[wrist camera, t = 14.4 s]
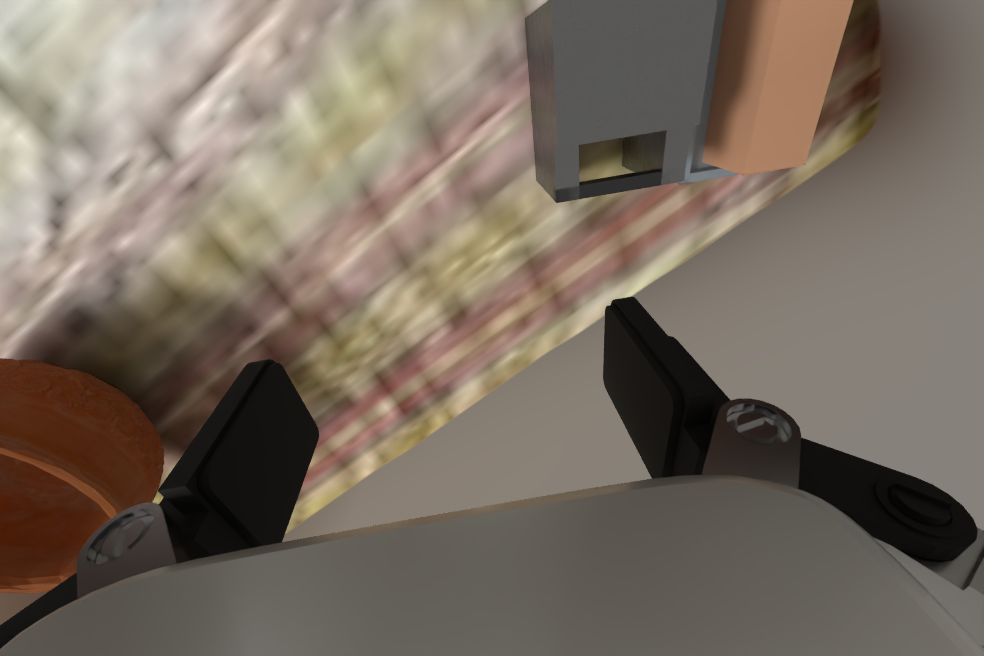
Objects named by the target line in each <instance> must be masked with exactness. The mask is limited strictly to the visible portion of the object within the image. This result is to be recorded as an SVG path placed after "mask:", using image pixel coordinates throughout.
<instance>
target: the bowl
mask: <svg viewBox="0 0 984 656" xmlns="http://www.w3.org/2000/svg"><path fill="white" fill-rule="evenodd" d="M161 445H162V444H161V438H160V435H159V434H158V433H157V431H156V429H155V427H154V426H153V424H152V422H151V421H150V420H149V419H148V417H147V416H146V415H145V414H144V412H143V411H142V410H141V409H140V406H139V404H136V403H135V402H133V401H132V400H131V399H130V398H129V397H127V396H126V395H125V393H123V392H122V391H121V390H119V389H118V388H115V387H113V386H110V385H109V384H107V383H106V382H104V381H102V380H99V379H97V378H96V377H94V376H92V375H91V374H89V373H86V372H81V371H78V370H76V369H64V368H61V367H60V366H58V365H54V364H49V363H45V362H40V361H35V360H20V361H17V360H13V359H2V358H0V593H36V592H43V591H50V590H52V589H53V588H55V587H56V586H58V585H59V584H60V583H62V582H63V581H65V580H66V579H68V578H69V577H70V576H72V575H73V574H75V573H76V572H77V566H76V563H77V559H78V554H79V553H80V551H81V549H82V547H83V546H84V544H85V543H86V542H87V540H88V539H89V538H90V537H91V536H92V534H93V533H94V532H95V531H96V530H98V529H99V528H100V527H101V526H102V525H103V524H104V523H105V522H107V521H108V520H110V519H111V518H112V517H114V516H115V515H117V514H118V513H120V512H122V511H124V510H126V509H128V508H130V507H132V506H135V505H138V504H141V503H148V502H152V501H153V500H154V498H155V495H156V493H157V490H158V488H159V484H160V481H161V476H162V473H163V465H164V450H163V448H162V446H161Z"/></svg>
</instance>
